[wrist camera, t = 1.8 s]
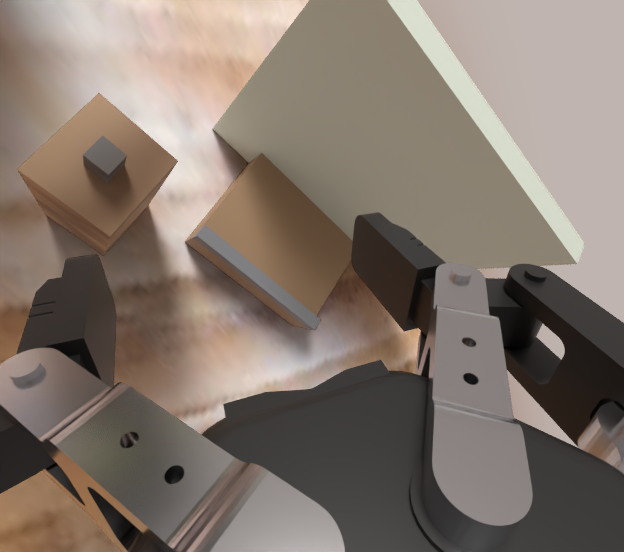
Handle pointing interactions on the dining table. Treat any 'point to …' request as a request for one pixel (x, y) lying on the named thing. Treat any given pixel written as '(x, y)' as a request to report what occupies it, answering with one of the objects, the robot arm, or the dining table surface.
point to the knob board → (97, 174)
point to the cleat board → (369, 160)
